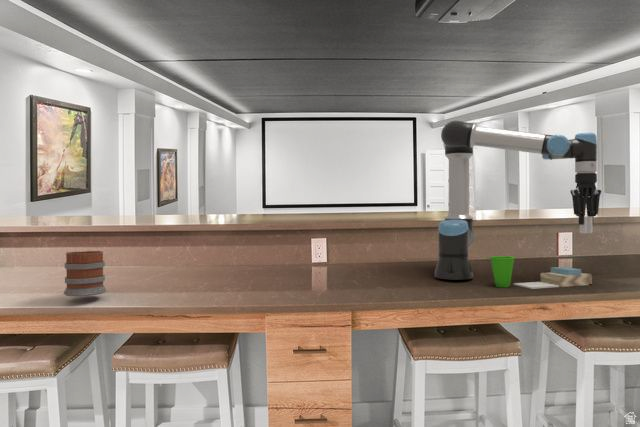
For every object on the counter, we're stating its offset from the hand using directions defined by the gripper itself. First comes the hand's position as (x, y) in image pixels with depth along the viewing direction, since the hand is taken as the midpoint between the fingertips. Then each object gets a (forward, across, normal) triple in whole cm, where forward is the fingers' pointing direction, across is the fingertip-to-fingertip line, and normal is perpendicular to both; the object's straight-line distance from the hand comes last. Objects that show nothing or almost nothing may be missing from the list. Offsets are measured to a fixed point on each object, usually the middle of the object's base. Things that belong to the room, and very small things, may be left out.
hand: (586, 232), depth 195 cm
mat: (+19, -24, 0) cm, 31 cm away
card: (+15, -10, 0) cm, 18 cm away
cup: (+20, -36, +4) cm, 41 cm away
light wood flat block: (+19, -10, 0) cm, 22 cm away
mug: (+20, -184, +46) cm, 191 cm away
